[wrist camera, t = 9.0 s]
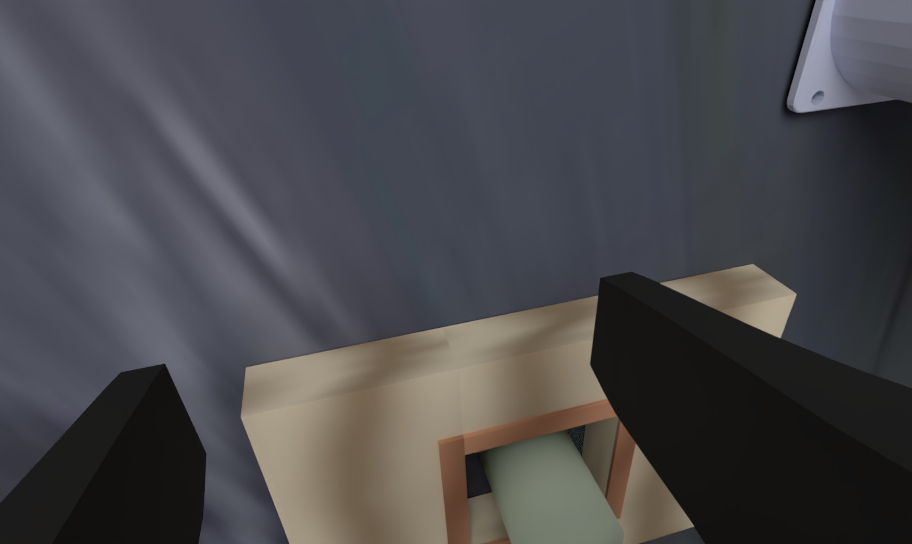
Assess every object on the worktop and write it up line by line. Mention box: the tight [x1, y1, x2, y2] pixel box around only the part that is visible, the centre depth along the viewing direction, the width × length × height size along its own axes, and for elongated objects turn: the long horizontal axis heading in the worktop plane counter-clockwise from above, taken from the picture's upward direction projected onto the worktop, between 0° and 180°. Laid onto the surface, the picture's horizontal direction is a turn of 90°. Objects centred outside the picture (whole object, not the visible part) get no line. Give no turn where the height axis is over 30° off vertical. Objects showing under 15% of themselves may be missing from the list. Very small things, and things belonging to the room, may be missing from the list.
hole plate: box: [241, 264, 797, 544], centre depth 25 cm, size 22×16×3 cm
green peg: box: [478, 429, 624, 544], centre depth 23 cm, size 4×4×6 cm
